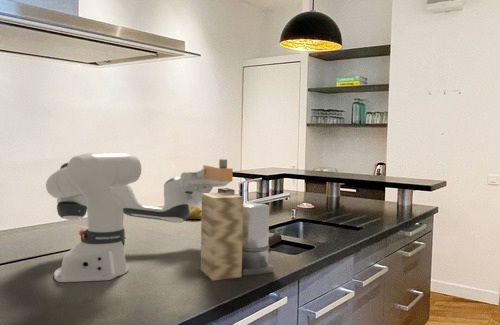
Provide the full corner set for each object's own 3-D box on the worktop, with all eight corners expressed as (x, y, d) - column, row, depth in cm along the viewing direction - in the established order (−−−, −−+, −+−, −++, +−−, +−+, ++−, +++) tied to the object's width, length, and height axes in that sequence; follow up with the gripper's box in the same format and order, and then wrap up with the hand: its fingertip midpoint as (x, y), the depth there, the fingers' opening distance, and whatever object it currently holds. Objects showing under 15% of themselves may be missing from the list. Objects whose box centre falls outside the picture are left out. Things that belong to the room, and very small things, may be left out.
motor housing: (242, 275, 142) (244, 208, 141) (230, 266, 152) (231, 203, 151) (274, 272, 147) (275, 207, 145) (259, 263, 157) (261, 202, 156)
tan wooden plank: (220, 181, 151) (220, 160, 150) (203, 176, 168) (203, 157, 168) (232, 181, 153) (232, 160, 152) (214, 176, 170) (214, 157, 170)
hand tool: (273, 241, 192) (273, 231, 192) (281, 242, 190) (281, 232, 190) (254, 251, 175) (254, 239, 175) (263, 252, 173) (263, 241, 173)
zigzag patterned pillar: (212, 280, 137) (213, 198, 136) (200, 269, 148) (201, 193, 146) (241, 277, 141) (243, 197, 140) (228, 266, 152) (229, 192, 151)
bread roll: (207, 219, 242) (207, 204, 242) (196, 221, 234) (197, 207, 233) (188, 216, 248) (188, 202, 248) (177, 219, 240) (177, 204, 239)
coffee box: (216, 216, 252) (217, 188, 252) (226, 215, 256) (226, 188, 255) (224, 218, 245) (225, 190, 244) (234, 217, 249) (235, 189, 248)
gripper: (226, 191, 180) (238, 177, 169) (178, 192, 172) (187, 178, 160) (224, 177, 183) (235, 163, 171) (176, 178, 174) (185, 162, 163)
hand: (211, 170), depth 166 cm, fingers closed on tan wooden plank, 4 cm apart
